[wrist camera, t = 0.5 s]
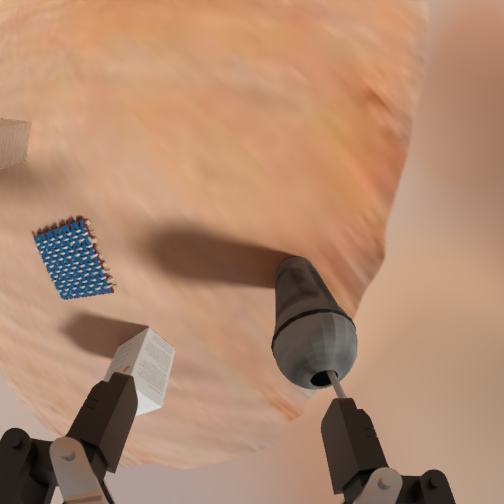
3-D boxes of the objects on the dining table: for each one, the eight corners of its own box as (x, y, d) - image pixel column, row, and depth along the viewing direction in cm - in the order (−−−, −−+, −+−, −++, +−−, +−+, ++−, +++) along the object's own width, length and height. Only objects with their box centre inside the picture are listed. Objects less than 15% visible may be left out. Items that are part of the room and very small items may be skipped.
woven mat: (67, 296, 34) (61, 304, 32) (38, 231, 30) (29, 237, 28) (121, 288, 34) (116, 296, 32) (91, 212, 29) (83, 218, 27)
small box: (144, 366, 40) (127, 419, 30) (118, 345, 38) (95, 397, 28) (177, 349, 38) (163, 408, 28) (149, 324, 36) (127, 383, 26)
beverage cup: (250, 271, 32) (255, 434, 14) (301, 232, 30) (366, 383, 12) (288, 309, 35) (316, 458, 17) (336, 275, 33) (402, 418, 15)
